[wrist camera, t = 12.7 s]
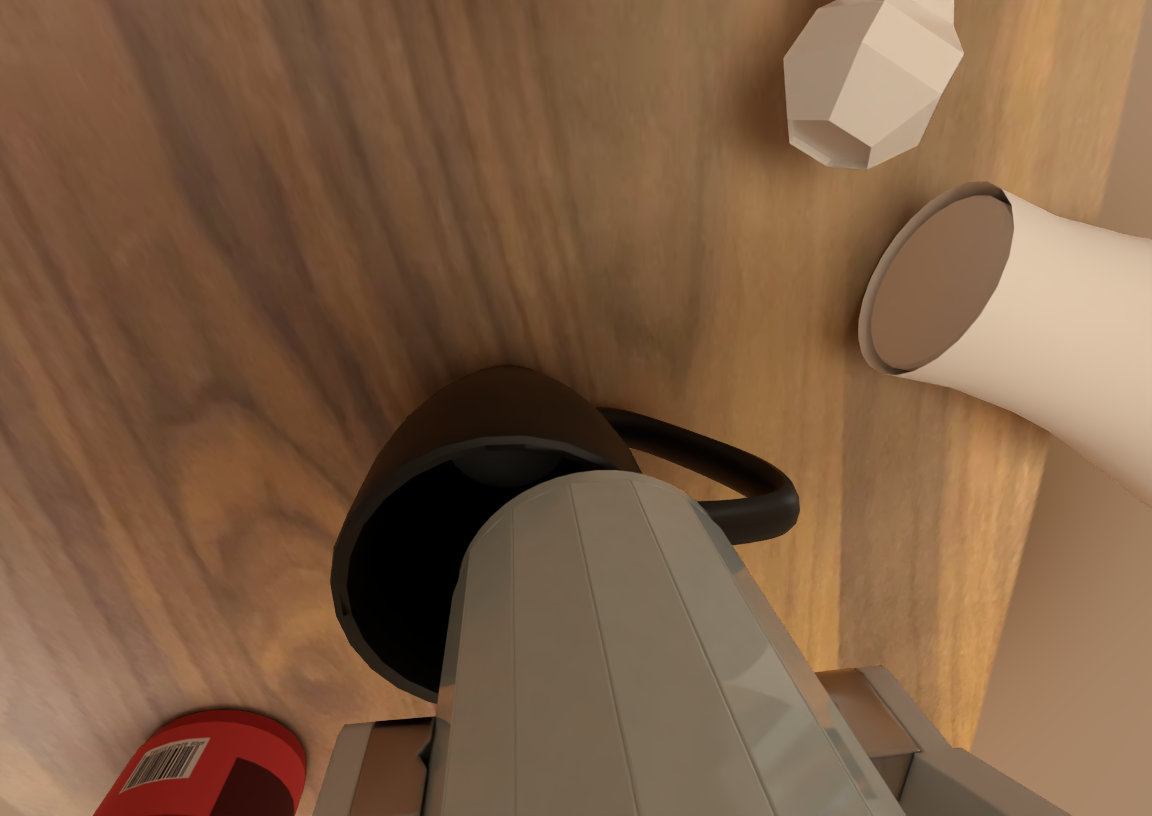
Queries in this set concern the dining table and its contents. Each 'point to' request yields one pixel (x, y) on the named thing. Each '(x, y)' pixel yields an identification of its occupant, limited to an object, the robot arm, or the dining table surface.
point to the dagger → (868, 78)
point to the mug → (500, 501)
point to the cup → (1023, 321)
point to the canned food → (212, 769)
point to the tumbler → (629, 671)
